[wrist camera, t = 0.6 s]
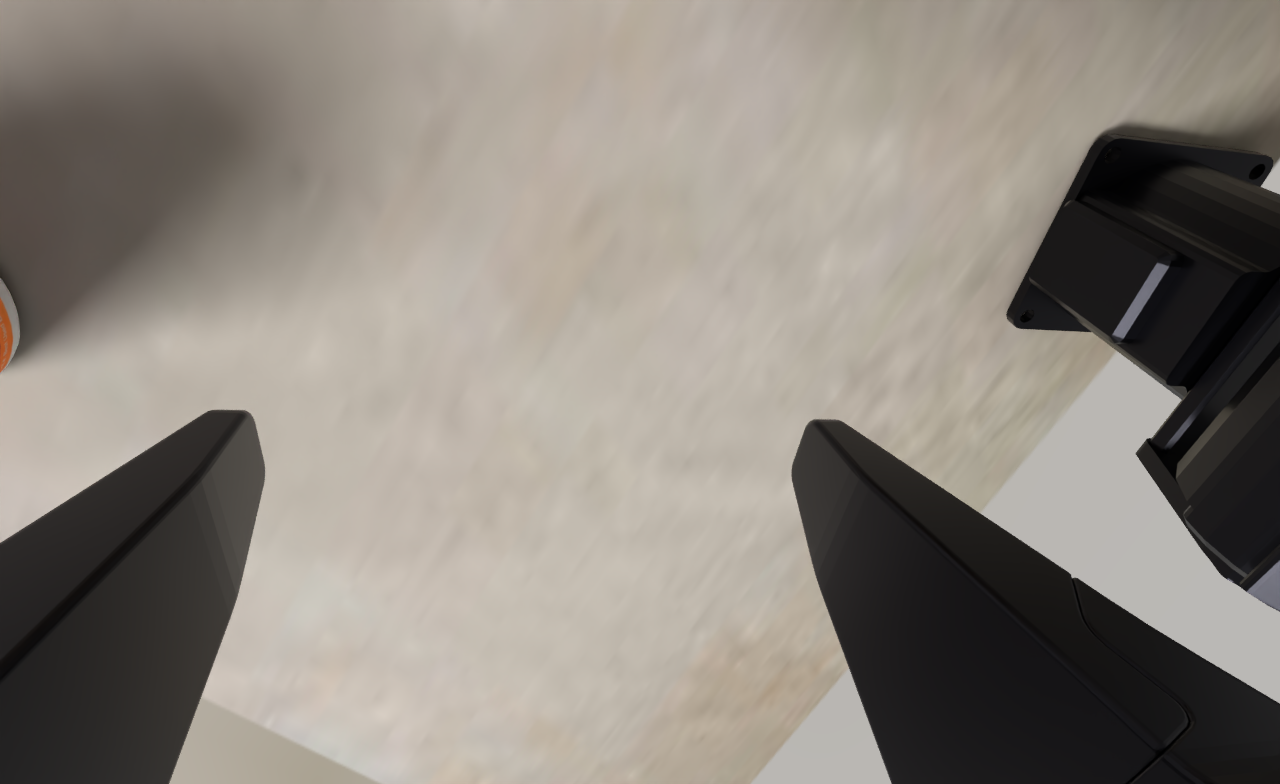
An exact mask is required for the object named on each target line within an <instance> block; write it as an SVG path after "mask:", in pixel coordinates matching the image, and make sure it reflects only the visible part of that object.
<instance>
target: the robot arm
mask: <svg viewBox="0 0 1280 784" xmlns="http://www.w3.org/2000/svg"><path fill="white" fill-rule="evenodd" d="M1111 148H1112V149H1111ZM1110 149H1111V152H1110V153H1109V155H1108V156H1107V157H1105V155H1106V153H1107V152H1108V151H1109V150H1110ZM1272 167H1273V160H1272V158H1271V157H1269V156H1266V155H1264V154H1261V153H1258V152H1253V151H1244V150H1236V149H1228V148H1220V147H1212V146H1204V145H1196V144H1188V143H1180V142H1172V141H1163V140H1155V139H1147V138H1139V137H1131V136H1123V135H1115V134H1110V135H1105V136H1103V137H1101V138H1099V139H1098V140H1097V141H1096V142H1095V143H1094V144H1093V146H1092V147H1091V149H1090V150H1089V152H1088V154H1087V156H1086V158H1085V160H1084V162H1083V164H1082V166H1081V168H1080V170H1079V172H1078V174H1077V176H1076V178H1075V179H1074V181H1073V183H1072V185H1071V187H1070V189H1069V191H1068V193H1067V195H1066V197H1065V199H1064V201H1063V203H1062V205H1061V207H1060V209H1059V211H1058V213H1057V215H1056V217H1055V219H1054V221H1053V223H1052V225H1051V226H1050V228H1049V230H1048V232H1047V234H1046V236H1045V238H1044V240H1043V242H1042V244H1041V246H1040V248H1039V250H1038V252H1037V254H1036V256H1035V258H1034V260H1033V262H1032V264H1031V266H1030V268H1029V270H1028V271H1027V273H1026V275H1025V277H1024V279H1023V281H1022V283H1021V285H1020V287H1019V289H1018V291H1017V293H1016V295H1015V297H1014V299H1013V301H1012V303H1011V305H1010V307H1009V309H1008V311H1007V314H1006V315H1007V319H1008V320H1009V322H1011V323H1012V324H1013V325H1014V326H1015V327H1016V328H1020V329H1038V330H1059V331H1080V332H1093V333H1094V334H1095V335H1097V336H1098V337H1099V338H1101V339H1102V340H1103V341H1105V342H1106V343H1107V344H1109V345H1110V346H1111V347H1113V348H1114V349H1115V350H1117V351H1118V352H1119V353H1121V354H1122V355H1123V356H1125V357H1126V358H1127V359H1129V360H1130V361H1131V362H1133V363H1134V364H1135V365H1137V366H1138V367H1139V368H1140V369H1142V370H1143V371H1144V372H1146V373H1147V374H1148V375H1150V376H1151V377H1153V378H1154V379H1155V380H1157V381H1158V382H1159V383H1160V384H1162V385H1163V386H1164V387H1166V388H1167V389H1168V390H1170V391H1171V392H1172V393H1174V394H1175V395H1176V396H1178V397H1179V398H1180V399H1182V401H1181V402H1180V403H1179V404H1178V406H1177V407H1176V408H1175V409H1174V411H1173V412H1172V413H1171V415H1170V416H1169V417H1168V418H1167V420H1166V421H1165V422H1164V423H1163V425H1162V426H1161V427H1160V429H1159V430H1158V431H1157V432H1156V434H1155V435H1154V436H1153V437H1152V438H1149V439H1146V441H1145V442H1144V444H1143V445H1142V446H1141V447H1140V448H1139V450H1138V451H1137V452H1136V455H1137V457H1138V458H1139V460H1140V461H1141V462H1142V464H1143V465H1144V467H1145V468H1146V470H1147V471H1148V473H1149V474H1150V476H1151V477H1152V478H1153V480H1154V481H1155V483H1156V484H1157V486H1158V487H1159V488H1160V490H1161V492H1162V493H1163V494H1164V496H1165V497H1166V499H1167V500H1168V502H1169V503H1170V504H1171V506H1172V507H1173V509H1174V510H1175V512H1176V513H1177V515H1178V516H1179V518H1180V519H1181V521H1182V522H1183V523H1184V525H1185V526H1186V528H1187V529H1188V531H1189V532H1190V534H1191V535H1192V536H1193V538H1194V539H1195V541H1196V542H1197V544H1198V545H1199V547H1200V548H1201V549H1202V551H1203V552H1204V553H1205V554H1206V556H1207V557H1208V558H1209V559H1210V561H1211V562H1212V563H1213V565H1214V566H1215V567H1216V569H1217V570H1218V572H1219V573H1220V574H1221V575H1222V576H1223V577H1224V578H1226V579H1227V580H1229V581H1231V582H1233V583H1235V584H1237V585H1238V586H1240V587H1241V588H1243V589H1244V590H1245V591H1246V592H1248V593H1249V594H1251V595H1253V596H1254V597H1256V598H1257V599H1259V600H1260V601H1262V602H1263V603H1265V604H1267V605H1268V606H1270V607H1272V608H1274V609H1276V610H1278V611H1280V195H1279V194H1277V193H1274V192H1272V191H1269V190H1267V189H1264V188H1262V187H1261V185H1262V184H1263V182H1264V181H1265V179H1266V178H1267V176H1268V175H1269V173H1270V171H1271V169H1272ZM1025 311H1026V312H1025ZM1024 312H1025V313H1024ZM1023 313H1024V314H1023ZM1022 314H1023V315H1022ZM1021 315H1022V316H1021ZM264 480H265V464H264V459H263V455H262V450H261V446H260V442H259V437H258V433H257V429H256V424H255V421H254V418H253V417H252V415H251V414H250V413H249V412H247V411H245V410H211V411H208V412H206V413H204V414H203V415H201V416H199V417H198V418H196V419H195V420H193V421H192V422H190V423H188V424H187V425H185V426H184V427H182V428H181V429H179V430H177V431H176V432H174V433H173V434H171V435H170V436H168V437H166V438H165V439H163V440H162V441H160V442H159V443H157V444H155V445H154V446H152V447H151V448H149V449H148V450H146V451H144V452H143V453H141V454H140V455H138V456H137V457H135V458H133V459H132V460H130V461H129V462H127V463H126V464H124V465H122V466H121V467H119V468H118V469H116V470H115V471H113V472H111V473H110V474H108V475H107V476H105V477H104V478H102V479H100V480H99V481H97V482H96V483H94V484H93V485H91V486H89V487H88V488H86V489H85V490H83V491H82V492H80V493H78V494H77V495H75V496H74V497H72V498H70V499H69V500H67V501H66V502H64V503H63V504H61V505H59V506H58V507H56V508H55V509H53V510H52V511H50V512H48V513H47V514H45V515H44V516H42V517H41V518H39V519H37V520H36V521H34V522H33V523H31V524H30V525H28V526H26V527H25V528H23V529H22V530H20V531H19V532H17V533H15V534H14V535H12V536H11V537H9V538H8V539H6V540H4V541H3V542H1V543H0V784H169V782H170V780H171V777H172V774H173V772H174V769H175V766H176V763H177V760H178V758H179V755H180V753H181V750H182V747H183V745H184V741H185V739H186V736H187V734H188V731H189V728H190V726H191V723H192V720H193V718H194V715H195V712H196V709H197V707H198V704H199V701H200V699H201V696H202V693H203V691H204V688H205V685H206V682H207V680H208V677H209V674H210V672H211V669H212V666H213V663H214V661H215V658H216V655H217V653H218V650H219V647H220V645H221V642H222V639H223V636H224V634H225V631H226V628H227V626H228V623H229V620H230V618H231V615H232V612H233V609H234V606H235V603H236V600H237V596H238V593H239V589H240V585H241V581H242V577H243V572H244V568H245V564H246V560H247V555H248V551H249V547H250V542H251V538H252V534H253V529H254V525H255V521H256V516H257V512H258V508H259V503H260V499H261V495H262V490H263V486H264ZM792 482H793V487H794V491H795V495H796V499H797V503H798V507H799V511H800V515H801V519H802V523H803V528H804V532H805V536H806V540H807V544H808V548H809V552H810V556H811V560H812V564H813V568H814V571H815V575H816V578H817V581H818V584H819V587H820V590H821V593H822V596H823V598H824V601H825V604H826V607H827V609H828V612H829V615H830V617H831V620H832V623H833V626H834V628H835V631H836V634H837V636H838V639H839V642H840V645H841V647H842V650H843V653H844V655H845V658H846V661H847V664H848V666H849V669H850V672H851V674H852V677H853V680H854V683H855V685H856V688H857V691H858V693H859V696H860V699H861V702H862V704H863V707H864V710H865V713H866V715H867V718H868V721H869V723H870V726H871V729H872V732H873V734H874V736H875V740H876V742H877V745H878V748H879V750H880V753H881V756H882V759H883V761H884V764H885V767H886V770H887V772H888V775H889V777H890V780H891V783H892V784H1280V704H1279V703H1278V702H1276V701H1274V700H1273V699H1271V698H1269V697H1268V696H1266V695H1264V694H1263V693H1261V692H1259V691H1257V690H1256V689H1254V688H1252V687H1251V686H1249V685H1247V684H1246V683H1244V682H1242V681H1241V680H1239V679H1237V678H1235V677H1234V676H1232V675H1231V674H1229V673H1227V672H1225V671H1224V670H1222V669H1220V668H1219V667H1217V666H1215V665H1214V664H1212V663H1210V662H1209V661H1207V660H1205V659H1204V658H1202V657H1200V656H1199V655H1197V654H1195V653H1194V652H1192V651H1190V650H1189V649H1187V648H1186V647H1184V646H1182V645H1181V644H1179V643H1177V642H1175V641H1174V640H1172V639H1171V638H1169V637H1167V636H1166V635H1164V634H1163V633H1161V632H1159V631H1158V630H1156V629H1154V628H1153V627H1151V626H1149V625H1148V624H1146V623H1144V622H1143V621H1142V620H1140V619H1139V618H1137V617H1136V616H1134V615H1132V614H1131V613H1129V612H1128V611H1126V610H1125V609H1123V608H1122V607H1120V606H1119V605H1117V604H1115V603H1114V602H1112V601H1110V600H1109V599H1108V598H1106V597H1104V596H1103V595H1102V594H1100V593H1099V592H1097V591H1096V590H1094V589H1093V588H1091V587H1090V586H1088V585H1087V584H1085V583H1084V582H1082V581H1081V580H1079V579H1078V578H1072V577H1071V574H1070V573H1069V572H1067V571H1066V570H1064V569H1063V568H1061V567H1059V566H1058V565H1056V564H1055V563H1054V562H1052V561H1051V560H1049V559H1048V558H1046V557H1045V556H1043V555H1042V554H1040V553H1039V552H1037V551H1035V550H1034V549H1032V548H1031V547H1030V546H1028V545H1027V544H1025V543H1024V542H1022V541H1021V540H1019V539H1018V538H1016V537H1015V536H1013V535H1012V534H1010V533H1009V532H1007V531H1006V530H1004V529H1003V528H1001V527H1000V526H998V525H997V524H995V523H994V522H992V521H991V520H989V519H988V518H986V517H984V516H983V515H982V514H980V513H979V512H977V511H976V510H974V509H973V508H971V507H970V506H968V505H967V504H965V503H964V502H962V501H961V500H959V499H958V498H956V497H955V496H953V495H952V494H950V493H949V492H947V491H946V490H944V489H943V488H941V487H940V486H938V485H937V484H935V483H934V482H932V481H931V480H929V479H928V478H926V477H925V476H923V475H922V474H920V473H919V472H917V471H916V470H914V469H913V468H911V467H910V466H908V465H907V464H905V463H904V462H902V461H901V460H899V459H898V458H896V457H895V456H893V455H892V454H890V453H889V452H887V451H886V450H884V449H883V448H881V447H880V446H878V445H877V444H875V443H874V442H872V441H871V440H869V439H868V438H866V437H865V436H863V435H862V434H860V433H859V432H857V431H856V430H854V429H853V428H851V427H850V426H848V425H847V424H845V423H844V422H842V421H840V420H831V419H814V420H812V421H810V422H809V423H808V424H807V426H806V428H805V430H804V433H803V436H802V439H801V442H800V444H799V447H798V450H797V453H796V456H795V459H794V461H793V465H792Z"/></svg>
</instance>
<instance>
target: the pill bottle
mask: <svg viewBox="0 0 1280 784" xmlns="http://www.w3.org/2000/svg"><path fill="white" fill-rule="evenodd" d="M19 339H20V328H19V319H18V313H17V310H16V306H15V304H14V301H13V299H12V296H11V294H10V292H9V290H8V289H7V287H6V285H5V284H4V282H3V281H2V279H1V278H0V373H1V372H2V371H3V370H4V369H5V368H6V367H7V365H8V364H9V362H10V361H11V359H12V357H13V356H14V354H15V351H16V349H17V346H18V344H19Z"/></svg>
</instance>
